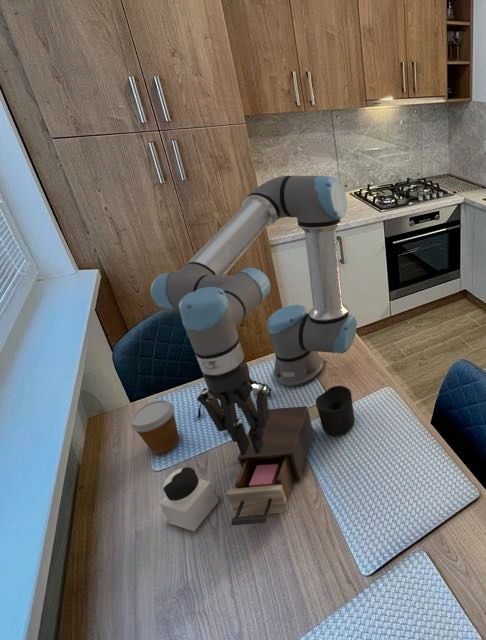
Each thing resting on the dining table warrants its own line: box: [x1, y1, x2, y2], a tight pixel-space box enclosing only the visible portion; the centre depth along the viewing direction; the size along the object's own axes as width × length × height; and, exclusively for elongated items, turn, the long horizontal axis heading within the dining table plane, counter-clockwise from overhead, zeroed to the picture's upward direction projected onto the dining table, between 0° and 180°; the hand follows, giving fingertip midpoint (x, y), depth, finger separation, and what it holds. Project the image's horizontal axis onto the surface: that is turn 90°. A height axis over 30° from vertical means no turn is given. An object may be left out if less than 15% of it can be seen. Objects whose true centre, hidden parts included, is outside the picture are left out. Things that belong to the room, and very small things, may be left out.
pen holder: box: [315, 385, 355, 438], centre depth 112 cm, size 9×9×10 cm
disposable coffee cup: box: [129, 399, 180, 455], centre depth 107 cm, size 10×10×12 cm
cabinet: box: [237, 405, 314, 482], centre depth 103 cm, size 15×13×10 cm
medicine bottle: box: [159, 466, 219, 532], centre depth 90 cm, size 7×7×12 cm
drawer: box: [226, 456, 295, 527], centre depth 93 cm, size 18×11×8 cm, turn 4°
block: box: [249, 464, 280, 487], centre depth 94 cm, size 5×5×5 cm
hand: (252, 448), depth 88 cm, fingers open, 2 cm apart
